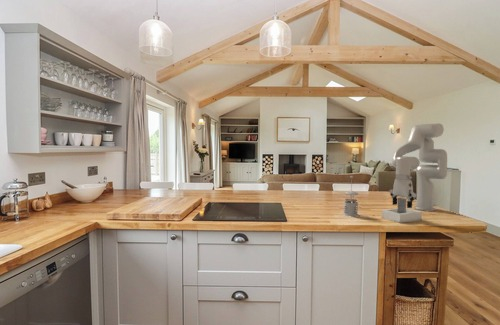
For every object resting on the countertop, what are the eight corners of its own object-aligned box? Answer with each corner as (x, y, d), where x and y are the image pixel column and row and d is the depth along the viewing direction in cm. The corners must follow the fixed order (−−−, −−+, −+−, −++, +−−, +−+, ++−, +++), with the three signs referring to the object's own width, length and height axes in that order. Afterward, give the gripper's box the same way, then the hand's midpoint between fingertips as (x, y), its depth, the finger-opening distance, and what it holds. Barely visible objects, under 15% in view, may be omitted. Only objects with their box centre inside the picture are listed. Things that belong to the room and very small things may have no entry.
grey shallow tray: (403, 215, 166) (403, 207, 166) (421, 220, 155) (421, 211, 154) (381, 217, 159) (382, 209, 159) (399, 222, 148) (399, 214, 148)
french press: (341, 215, 164) (342, 175, 163) (344, 211, 174) (345, 174, 173) (358, 217, 160) (359, 176, 159) (360, 213, 170) (361, 175, 169)
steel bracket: (404, 215, 161) (405, 197, 160) (410, 217, 157) (411, 198, 156) (392, 217, 157) (393, 198, 157) (398, 218, 153) (398, 199, 153)
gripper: (421, 178, 149) (420, 208, 150) (394, 176, 165) (393, 203, 166) (412, 179, 147) (411, 209, 147) (385, 176, 163) (385, 203, 163)
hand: (401, 206), depth 157 cm, fingers open, 9 cm apart
